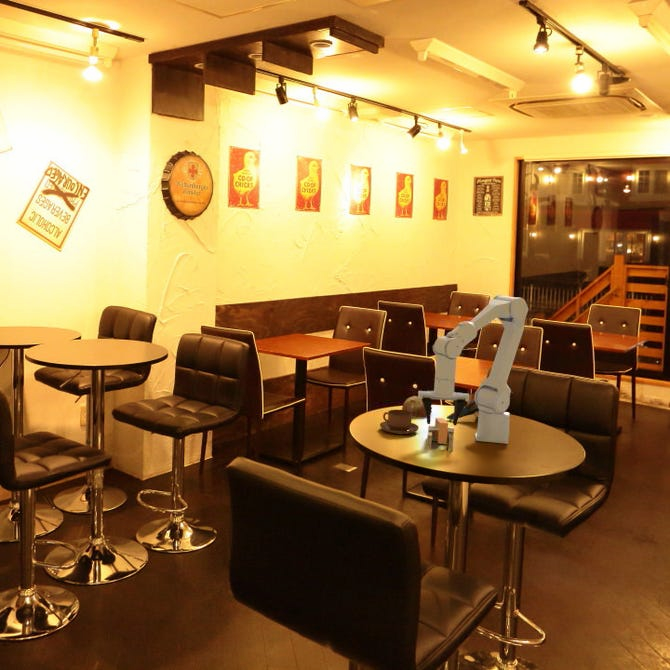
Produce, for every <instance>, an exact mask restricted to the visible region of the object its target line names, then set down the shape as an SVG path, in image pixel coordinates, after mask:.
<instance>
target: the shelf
mask: <svg viewBox="0 0 670 670" xmlns="http://www.w3.org/2000/svg"><path fill="white" fill-rule="evenodd" d="M427 427H428V430H427V439H426V450H431V449H432V443H433V441H436V442H438V439H435V438H434V432H435V431H436V432H438V427H435V424H433V425H432V424H428V426H427ZM454 435H455V427H454V426H448V432H447V443H448V449H447V450H448V452H453V448H454Z"/></svg>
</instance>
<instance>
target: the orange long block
mask: <svg viewBox="0 0 670 670" xmlns="http://www.w3.org/2000/svg"><path fill="white" fill-rule="evenodd" d="M434 422H435V423H434V425H435V427H438V432H436V431H435V432H434V438H435V439H438V441H437V443H438V444H441V445H442V444H443V445H446V444H447V443H448V442H447V432H448V427H449V422H447V420H446V419H445V418H444V417H435V420H434Z"/></svg>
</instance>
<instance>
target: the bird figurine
mask: <svg viewBox="0 0 670 670" xmlns="http://www.w3.org/2000/svg"><path fill="white" fill-rule="evenodd" d="M494 390H497V389H496V388H494ZM497 391H498V390H497ZM511 393H512V394H514V392H513V391H512V390H511ZM472 415H474V417H475V418H476V420H478V416H479V409H478V405H477V404H476V402H475V398H474V399H473V400H472V401H470V402H469V403H468V404H465V407H464V408H463V410H462V411H461V413H460V415H459V418H458V419H460V418H464V417H467V416H472ZM453 417H454V412H453V413H450V414H449V415H447V416H446V419H448V421H449V422H451V421H453Z"/></svg>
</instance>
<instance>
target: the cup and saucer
mask: <svg viewBox="0 0 670 670" xmlns="http://www.w3.org/2000/svg"><path fill="white" fill-rule="evenodd" d="M386 415H387V419H386ZM412 418H413V417H412V413H411V412H409V411H406V410H402V409H391V410H388V411H385V412H384V413H383V415H382V419H383V420H384V421H383V422H381V423H380V424H379V426H380V429H382V430H383V431H385V432H387V433H390V434H397V435H409V434H414V433H416V432H417V431H419V428H420V427H419V426H418V424H416V423H413V422H412ZM407 430H409V431H407Z"/></svg>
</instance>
